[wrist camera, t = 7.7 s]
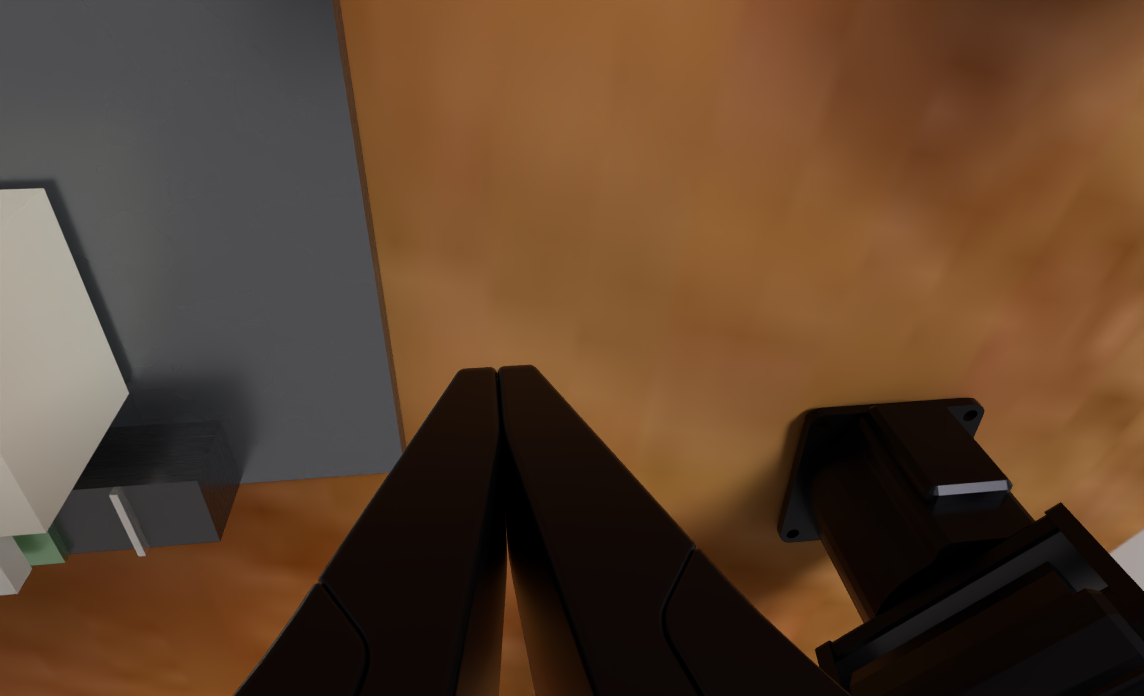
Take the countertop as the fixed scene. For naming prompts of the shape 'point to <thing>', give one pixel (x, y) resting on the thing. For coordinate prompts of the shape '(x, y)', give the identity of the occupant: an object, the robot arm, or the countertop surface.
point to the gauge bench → (205, 251)
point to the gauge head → (45, 375)
